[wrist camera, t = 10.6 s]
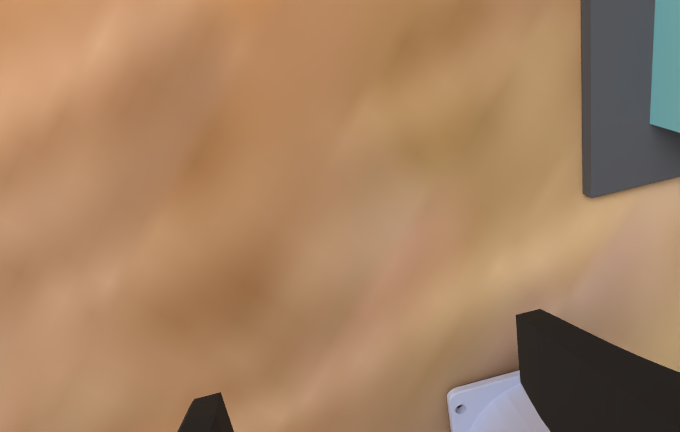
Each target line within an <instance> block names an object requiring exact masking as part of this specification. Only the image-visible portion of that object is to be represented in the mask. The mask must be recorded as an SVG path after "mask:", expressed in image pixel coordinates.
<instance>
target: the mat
mask: <svg viewBox="0 0 680 432" xmlns="http://www.w3.org/2000/svg"><path fill="white" fill-rule="evenodd" d="M654 19H655V0H581V49H582V153H583V194H585V195H587V196H589V197H591V198H593V197H597V196H601V195H605V194H610V193H614V192H618V191H622V190H626V189H630V188H634V187H638V186H642V185H646V184H651V183H655V182H659V181H663V180H667V179H671V178H675V177H679V176H680V133H679V132H676V131H672V130H669V129H666V128H662V127H659V126H656V125H652V124H650V107H651V85H652V63H653V41H654Z"/></svg>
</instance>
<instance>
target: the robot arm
mask: <svg viewBox="0 0 680 432" xmlns="http://www.w3.org/2000/svg"><path fill="white" fill-rule="evenodd" d="M516 325H517V340H518V355H519V371H515V372H511V373H507V374H504V375H500V376H496V377H493V378H489V379H485V380H482V381H478V382H474V383H471V384H467V385H463V386H460V387H456V388H454V389H452V390H451V391H449V393H448V395H447V404H448V412H449V419H450V427H451V432H680V372H677V371H674V370H672V369H669V368H666V367H664V366H661V365H659V364H657V363H654V362H652V361H649V360H647V359H645V358H642V357H640V356H637V355H635V354H633V353H631V352H628V351H626V350H624V349H622V348H619V347H617V346H615V345H613V344H611V343H609V342H607V341H605V340H602V339H600V338H598V337H596V336H594V335H592V334H590V333H588V332H586V331H584V330H582V329H580V328H578V327H576V326H574V325H572V324H570V323H568V322H566V321H564V320H562V319H560V318H558V317H556V316H554V315H552V314H550V313H547V312H545V311H543V310H541V309H538V310H534V311H530V312H526V313H522V314H519V315H516ZM459 405H462V406H461V407H459V408H457V406H459ZM178 432H234V431H233V428H232V425H231V422H230V419H229V416H228V413H227V410H226V407H225V404H224V401H223V398H222V395H221V392H220V393H216V394H212V395H209V396H205V397H201V398H197V399H194V401H193V402H192V404H191V405H190V407H189V409H188V411H187V413H186V415H185V418H184V420H183V422H182V424H181V426H180V428H179V430H178Z"/></svg>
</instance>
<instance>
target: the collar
mask: <svg viewBox="0 0 680 432" xmlns="http://www.w3.org/2000/svg"><path fill="white" fill-rule="evenodd" d="M650 124H652V125H656V126H659V127H662V128H666V129H669V130H672V131H676V132H679V133H680V0H655V19H654V41H653V63H652V85H651V107H650Z"/></svg>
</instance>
